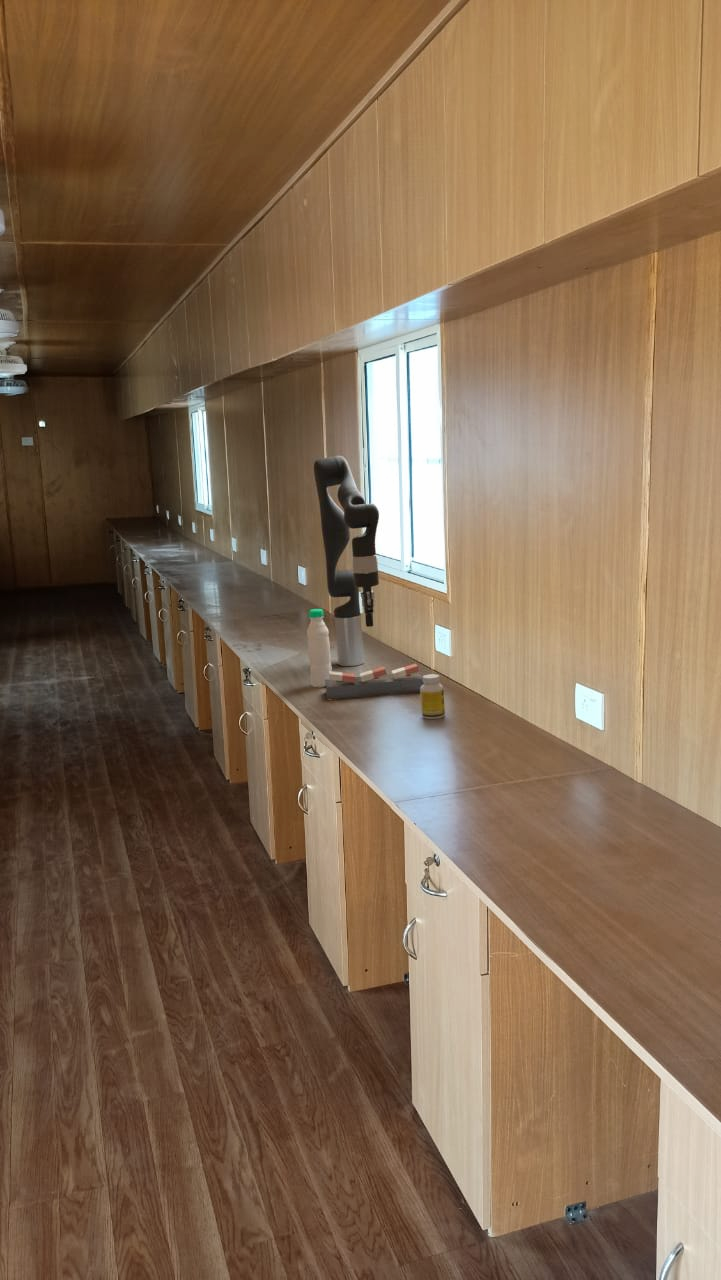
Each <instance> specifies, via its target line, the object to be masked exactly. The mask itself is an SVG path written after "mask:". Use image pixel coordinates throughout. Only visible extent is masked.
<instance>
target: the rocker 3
mask: <svg viewBox="0 0 721 1280" xmlns="http://www.w3.org/2000/svg"><path fill="white" fill-rule="evenodd" d="M419 671H420V669H419V666H418V665H417V663H413V664H409V665H407V666H403V667H399V668H395V669H393V670H391V674H392V675H393V677H394V679H396V678H400V677H403V676H406V675H410V674H413V673H416V672H419Z"/></svg>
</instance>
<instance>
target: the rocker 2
mask: <svg viewBox="0 0 721 1280" xmlns="http://www.w3.org/2000/svg"><path fill="white" fill-rule="evenodd" d="M387 674H388V673H387V671H386V668H385V665H383V666H380V667H377V668H373V669H371V670H370V669H369V670H368V671H363V672H361V673H359V677H360V678H361V681H362V682H364V681H367V680H370V679H374V678H377V677H380V676H384V675H387Z"/></svg>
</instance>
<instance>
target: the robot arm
mask: <svg viewBox="0 0 721 1280" xmlns="http://www.w3.org/2000/svg"><path fill="white" fill-rule="evenodd" d="M313 473H314V480H315V486H316V491H317V497H318V503H319V512H320V522H321V523H320V524H321V525H320V526H321V533H322V539H323V547H324V553H325V565H326V566H325V567H326V568H325V569H326V582H327V583H326V584H327V585H326V586H327V591H328V594H329V596H330V597H332V598H344V597H345V598H347V597H349V598H350V599H349V600H348V601H347V602H345V603H343V604H341V605H339V606H337V607H335V608H334V609H333V615H334V617H333V618H334V629H335V641H336V642H335V643H336V652H337V663H338V664H339V665H338V666H340V665H341V667H353V666H354V667H355V666H360V665H363V664H364V663H365V658H364V657H365V656H364V642H363V632H362V631H363V629H362V617H361V607H360V606H361V605H362V607H363V609H362V610H363V613H364V616H365V618H364V619H365V626H366V628H367V627H368V628H369V627H370V628H371V627H374V616H373V615H374V613H375V611H374V607H375V599H374V598H375V592H374V590H372V587H377V586H378V585H380V580H379V571H378V569H379V568H378V567H379V565H378V558H377V551H376V535H377V528H378V524H379V520H380V512H379V509H378V507H377V506H376V505H375V504H374V503H366V501H365V498H364V497H363V495H362V493H361V492H360V490H359V489H358V487H357V485H356V483H355V482H356V481H355V479H354V476H353V473H352V470H351V468H350V465H349V463H348V461H347V459H346V458H345V457H344V456H342V455H335V456H328V457H324V458H320V459H319V458H318V459H316V460H315V461H314V463H313ZM334 486H339V487H338V490H337V493H336V494H337V499H338V502H339V504H340V506H341V507H342V509H343V510H342V509H341V508H340V507H339V506H338V505H337V504H336V503H335V501H334V500H333V498H332V497H331V496H330V494H329V491H328V488H329V487H334ZM363 528H366V529H365V531H364V533H362V534H360V535H357V536H354V537H353V538H352V540H351V549H352V569H345V570H336V569H337V565H338V562H339V560H340V559H341V558H340V557H341V556H342V554H343V552H344V551H345V550H346V547H347V546H348V544H349V541H350V538H351V534H350V533H351V532H350V529H352V530H354V529H363ZM360 588H362V591H360ZM360 597H361V605H360Z"/></svg>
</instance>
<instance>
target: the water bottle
mask: <svg viewBox="0 0 721 1280" xmlns="http://www.w3.org/2000/svg"><path fill="white" fill-rule="evenodd" d="M308 616H309V617H308V618H309V619H310V623H309V624H308V627H307V631H306V636H307V649H308V659H309V664H310V665H309V672H310V684H311V686H312V687H313V686H315V687H314V688H326V687H325V686H326V684H325V680H328V679H329V671H333V668H332V663H331V660H332V659H331V646H330V645H331V644H330V638H329V628H328V627H327V625H326V623H325V621H324V620H323V618H324V610H323V609H322V608H313V609H310V610H309V611H308Z"/></svg>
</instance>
